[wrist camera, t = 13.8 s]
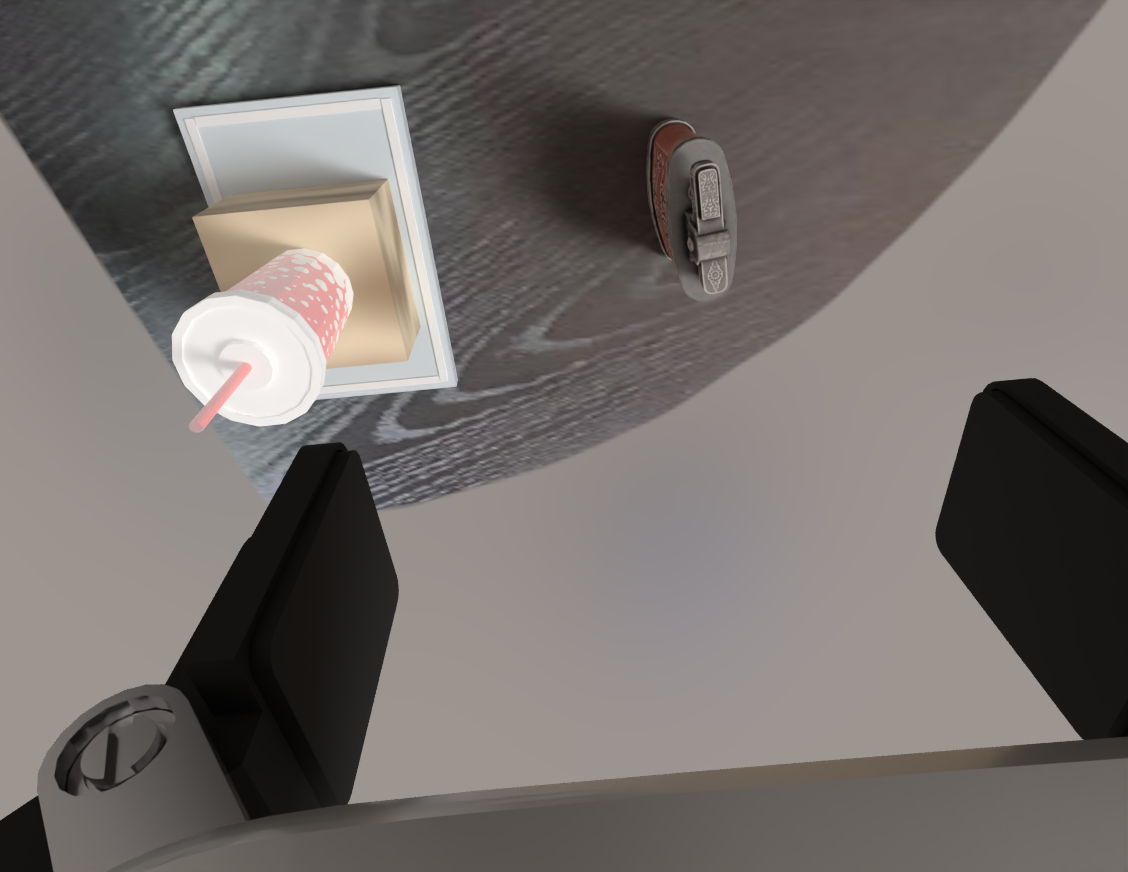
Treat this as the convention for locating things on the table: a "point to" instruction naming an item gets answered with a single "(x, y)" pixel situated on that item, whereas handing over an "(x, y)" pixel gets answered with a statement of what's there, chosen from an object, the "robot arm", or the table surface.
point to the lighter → (692, 207)
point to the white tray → (324, 157)
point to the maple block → (340, 231)
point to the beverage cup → (264, 340)
